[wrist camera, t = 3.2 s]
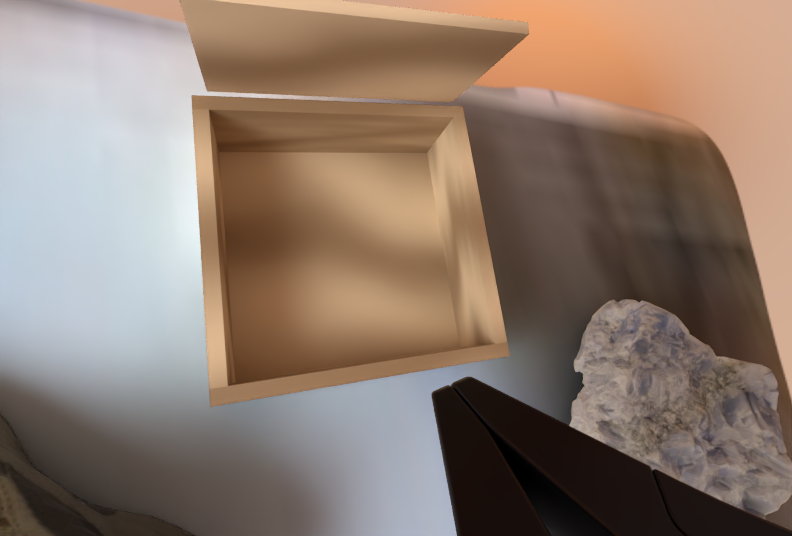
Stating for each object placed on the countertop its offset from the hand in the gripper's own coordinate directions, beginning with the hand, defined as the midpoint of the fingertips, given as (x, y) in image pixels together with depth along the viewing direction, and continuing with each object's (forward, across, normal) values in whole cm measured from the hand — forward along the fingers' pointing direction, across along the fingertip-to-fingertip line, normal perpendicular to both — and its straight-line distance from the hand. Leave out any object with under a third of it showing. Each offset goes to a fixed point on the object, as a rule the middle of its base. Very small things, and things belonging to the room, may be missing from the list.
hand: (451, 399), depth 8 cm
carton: (+14, 0, +2) cm, 14 cm away
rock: (+6, -12, +16) cm, 21 cm away
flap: (+11, -3, -6) cm, 13 cm away
